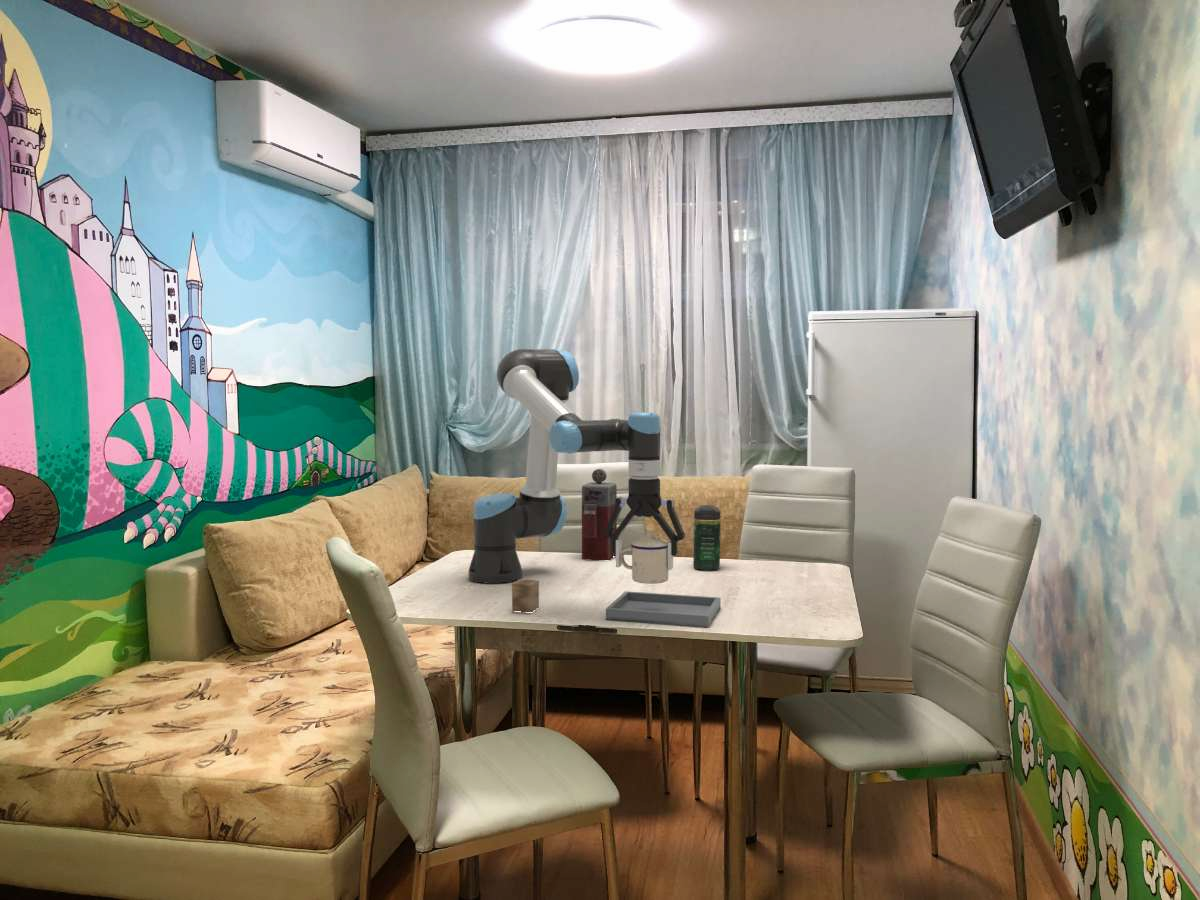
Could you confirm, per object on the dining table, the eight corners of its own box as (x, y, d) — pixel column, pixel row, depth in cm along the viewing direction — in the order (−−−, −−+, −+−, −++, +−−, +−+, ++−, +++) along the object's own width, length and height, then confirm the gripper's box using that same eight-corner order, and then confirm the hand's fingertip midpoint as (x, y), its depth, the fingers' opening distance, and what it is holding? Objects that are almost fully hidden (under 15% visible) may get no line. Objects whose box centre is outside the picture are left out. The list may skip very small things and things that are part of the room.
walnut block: (512, 612, 214) (511, 583, 213) (519, 607, 219) (519, 579, 218) (531, 613, 213) (531, 585, 212) (538, 608, 217) (538, 580, 217)
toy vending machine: (579, 560, 275) (578, 470, 273) (590, 554, 286) (589, 467, 284) (607, 562, 272) (606, 471, 270) (616, 555, 283) (616, 468, 281)
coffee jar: (720, 571, 259) (721, 508, 258) (693, 570, 260) (693, 507, 259) (720, 564, 269) (720, 503, 267) (693, 564, 270) (694, 503, 268)
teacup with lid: (673, 577, 215) (673, 529, 214) (663, 585, 207) (663, 535, 206) (626, 574, 219) (626, 527, 218) (614, 582, 211) (614, 533, 210)
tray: (605, 619, 207) (605, 608, 207) (625, 601, 224) (625, 591, 224) (708, 627, 200) (708, 616, 200) (720, 608, 217) (720, 597, 217)
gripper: (590, 477, 211) (591, 567, 212) (691, 480, 204) (691, 573, 206) (599, 474, 218) (600, 561, 220) (697, 477, 211) (697, 567, 213)
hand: (644, 567), depth 213 cm, fingers closed on teacup with lid, 12 cm apart
